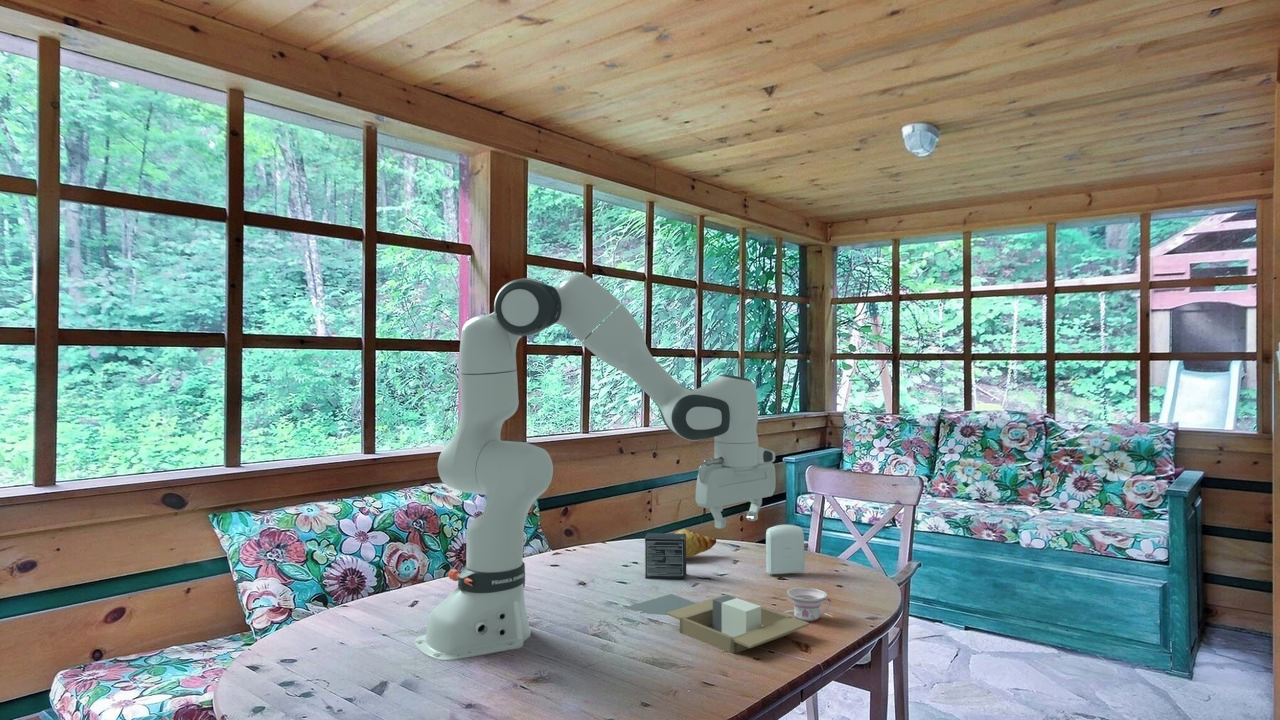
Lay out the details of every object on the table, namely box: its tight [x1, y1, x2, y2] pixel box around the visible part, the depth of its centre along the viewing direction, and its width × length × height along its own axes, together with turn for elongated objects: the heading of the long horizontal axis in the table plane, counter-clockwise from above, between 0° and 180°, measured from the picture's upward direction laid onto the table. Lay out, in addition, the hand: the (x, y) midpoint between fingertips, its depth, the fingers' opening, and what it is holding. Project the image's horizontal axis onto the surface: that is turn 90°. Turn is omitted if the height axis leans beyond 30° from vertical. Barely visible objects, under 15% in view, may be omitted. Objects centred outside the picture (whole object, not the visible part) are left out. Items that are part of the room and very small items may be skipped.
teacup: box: [780, 587, 833, 623], centre depth 155 cm, size 12×12×6 cm
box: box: [712, 594, 762, 637], centre depth 145 cm, size 4×9×7 cm, turn 40°
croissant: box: [673, 528, 717, 558], centre depth 206 cm, size 21×10×8 cm
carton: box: [665, 594, 811, 655], centre depth 145 cm, size 18×23×4 cm
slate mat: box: [625, 593, 697, 616], centre depth 161 cm, size 14×13×1 cm
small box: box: [644, 532, 687, 580], centre depth 187 cm, size 11×6×10 cm, turn 84°
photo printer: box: [765, 524, 805, 575], centre depth 190 cm, size 10×4×12 cm, turn 99°
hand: (736, 524), depth 145 cm, fingers open, 8 cm apart
